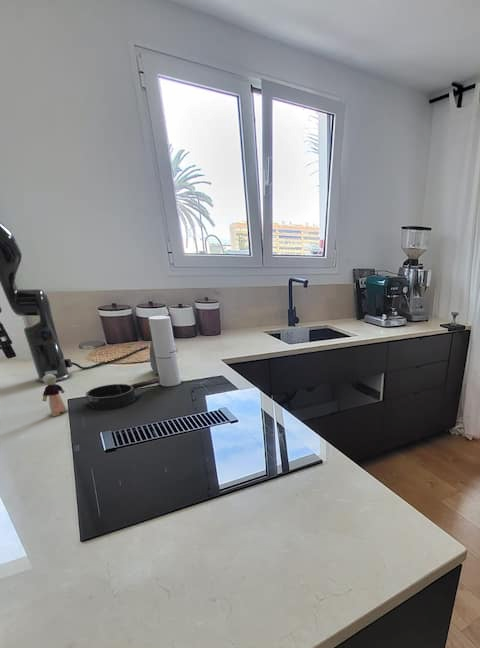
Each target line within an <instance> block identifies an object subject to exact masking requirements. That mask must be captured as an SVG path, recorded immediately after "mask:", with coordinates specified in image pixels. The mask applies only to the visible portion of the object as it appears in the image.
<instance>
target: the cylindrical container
mask: <svg viewBox="0 0 480 648" xmlns="http://www.w3.org/2000/svg"><path fill="white" fill-rule="evenodd" d="M147 320H148V324H149V329H150V336H151V341H153V346H154V352H155V357H156V362H157V368H158V373H159V375H158V379H160V382H159V384H160V386H162V387H174V386H179V385H180V384H181V383H182V381H181V374H180V368H179V363H178V357H177V350H176V344H175V338H174V331H173V326H172V320H171V316H169V315H154V316H153V315H152V316H149V317H148V318H147Z"/></svg>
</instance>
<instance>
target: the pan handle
mask: <svg viewBox="0 0 480 648" xmlns="http://www.w3.org/2000/svg"><path fill="white" fill-rule="evenodd" d="M157 384H160V378H159V377H158V378H157V377H156V378H152V379H148V380H143V381H140V382H136V383H132V384H129V385H130V386H133V388H134V390H137V389H140V388H144V387H149V386H153V385H157ZM130 386H129V389H130Z"/></svg>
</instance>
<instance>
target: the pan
mask: <svg viewBox="0 0 480 648" xmlns="http://www.w3.org/2000/svg"><path fill="white" fill-rule="evenodd" d="M130 385H131V384H126V383H114V384H113V383H112V384H106V385H101V386H96V387H94V388H91V389H89V390H88V391H86V392H85V398H86V400H87V404H88V406H89V408H90V409H93V410H112V409H117V408H122V407H125V406H128V405H130V404H133V403H134V402H135V401H136V393H135V389H134V388H133V386H130ZM129 386H130V389H129Z"/></svg>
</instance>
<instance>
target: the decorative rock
mask: <svg viewBox="0 0 480 648" xmlns="http://www.w3.org/2000/svg"><path fill="white" fill-rule="evenodd" d="M148 349H149V361H150V367H151V370H152V371H153V373H155V375H156V376H159V373H158V368H157V362H156V357H155V352H154V346H153V341H152V340H151V341H150V345H149V348H148Z"/></svg>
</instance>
